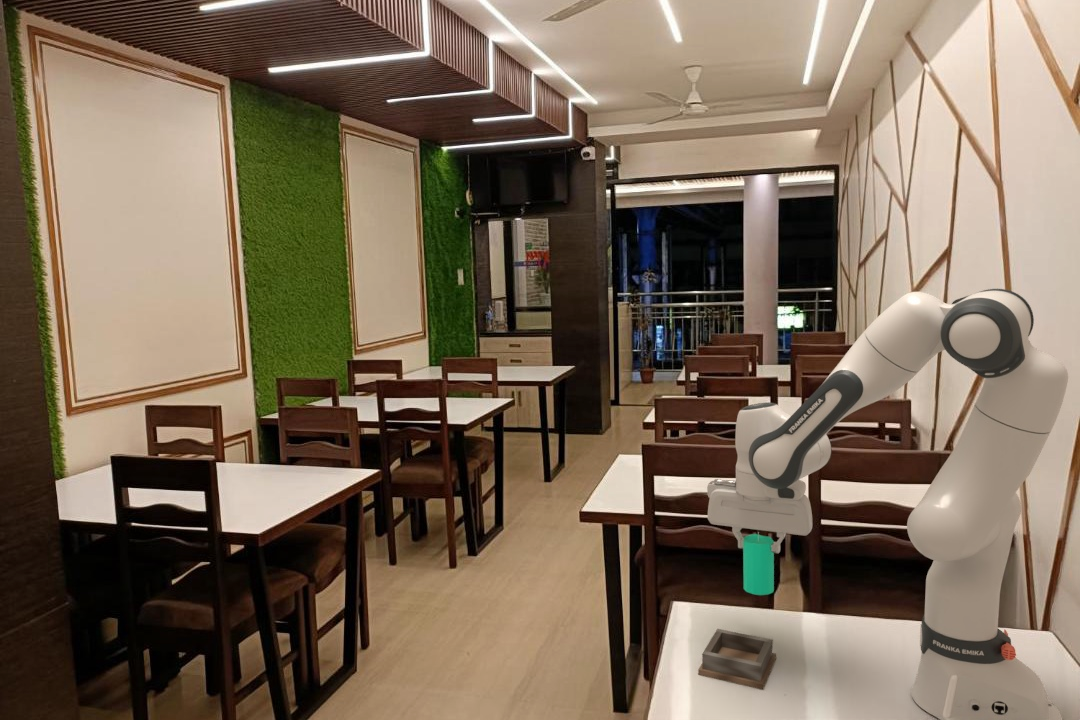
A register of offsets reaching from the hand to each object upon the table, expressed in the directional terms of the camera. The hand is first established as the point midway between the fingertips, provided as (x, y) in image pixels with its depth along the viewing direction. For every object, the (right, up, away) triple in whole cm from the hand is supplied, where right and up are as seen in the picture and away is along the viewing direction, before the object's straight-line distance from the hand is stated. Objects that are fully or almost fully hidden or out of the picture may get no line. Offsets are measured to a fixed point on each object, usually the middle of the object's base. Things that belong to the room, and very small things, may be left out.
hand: (759, 549), depth 155 cm
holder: (-6, -21, -7) cm, 23 cm away
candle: (0, -8, +1) cm, 9 cm away
